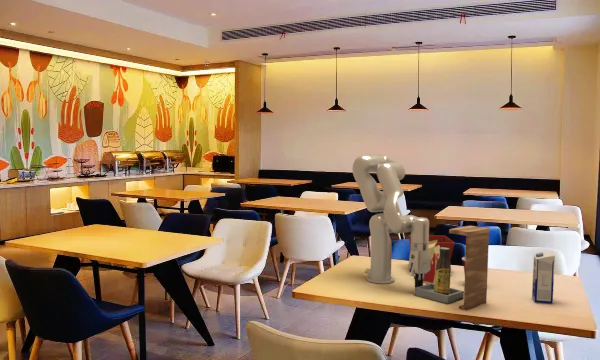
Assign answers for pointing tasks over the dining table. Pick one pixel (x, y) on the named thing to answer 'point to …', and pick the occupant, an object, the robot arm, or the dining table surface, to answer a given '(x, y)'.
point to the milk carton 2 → (543, 278)
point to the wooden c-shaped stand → (475, 265)
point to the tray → (438, 294)
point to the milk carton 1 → (432, 262)
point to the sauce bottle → (443, 272)
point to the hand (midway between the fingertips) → (418, 288)
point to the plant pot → (440, 242)
